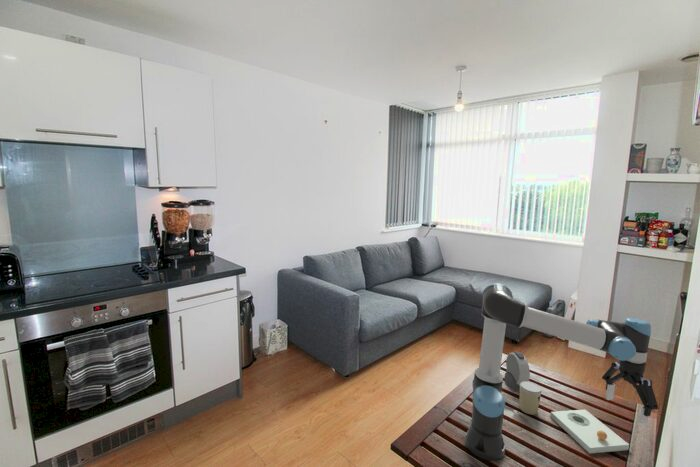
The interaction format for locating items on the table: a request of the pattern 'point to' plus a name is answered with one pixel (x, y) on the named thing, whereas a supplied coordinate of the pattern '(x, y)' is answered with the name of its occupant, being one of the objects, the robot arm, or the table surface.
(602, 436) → the ball
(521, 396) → the coffee cup
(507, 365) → the alarm clock
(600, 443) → the plate
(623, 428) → the table surface
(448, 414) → the table surface
